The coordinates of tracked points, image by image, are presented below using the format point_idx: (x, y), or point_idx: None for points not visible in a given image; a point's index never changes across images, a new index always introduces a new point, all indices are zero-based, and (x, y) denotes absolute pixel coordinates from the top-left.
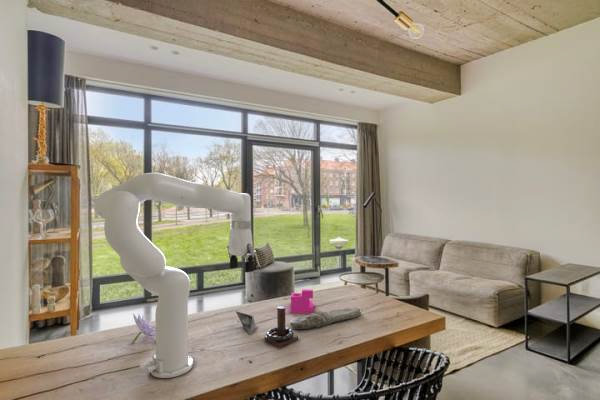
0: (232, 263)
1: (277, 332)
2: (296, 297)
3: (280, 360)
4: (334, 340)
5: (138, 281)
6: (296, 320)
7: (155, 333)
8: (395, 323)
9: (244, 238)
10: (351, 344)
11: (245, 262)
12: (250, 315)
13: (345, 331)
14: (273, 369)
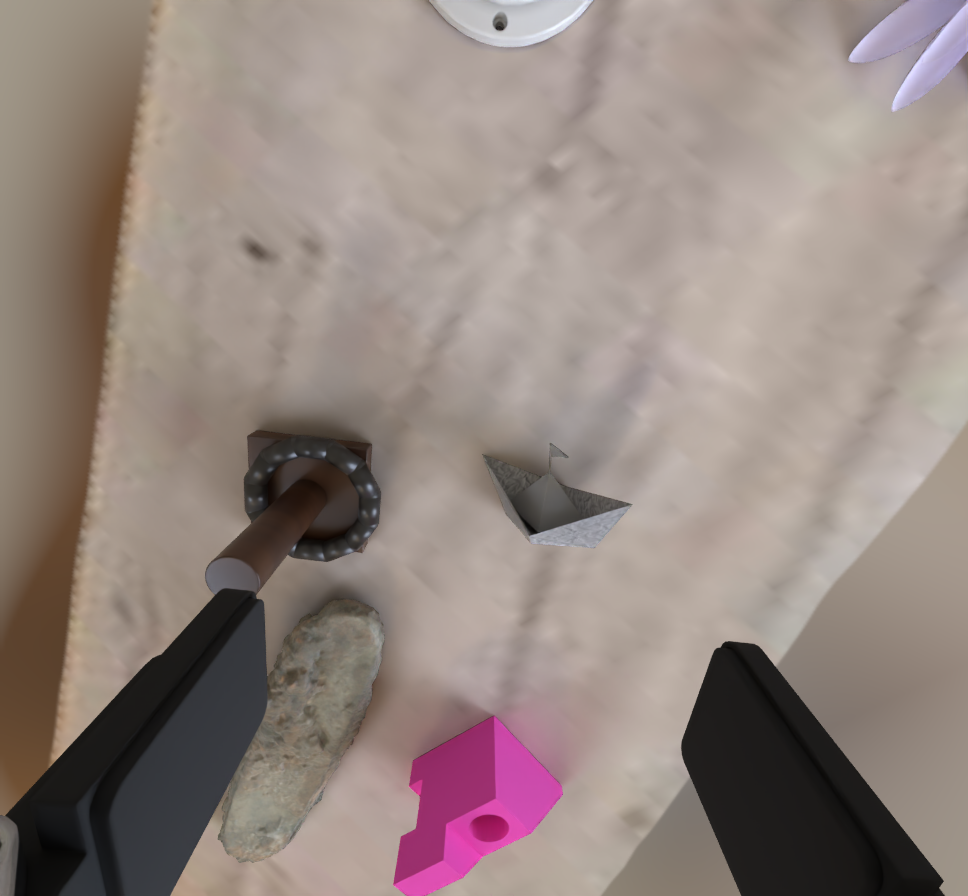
0: (763, 750)
1: (311, 492)
2: (470, 805)
3: (170, 346)
4: (151, 610)
5: None
6: (344, 639)
7: (943, 70)
8: None
9: None
10: (80, 618)
11: (55, 784)
12: (540, 533)
13: None
14: (126, 265)
